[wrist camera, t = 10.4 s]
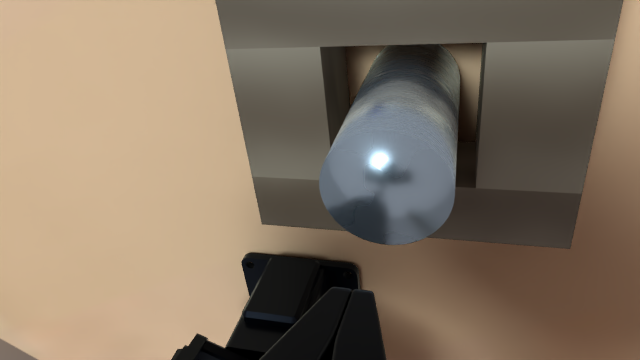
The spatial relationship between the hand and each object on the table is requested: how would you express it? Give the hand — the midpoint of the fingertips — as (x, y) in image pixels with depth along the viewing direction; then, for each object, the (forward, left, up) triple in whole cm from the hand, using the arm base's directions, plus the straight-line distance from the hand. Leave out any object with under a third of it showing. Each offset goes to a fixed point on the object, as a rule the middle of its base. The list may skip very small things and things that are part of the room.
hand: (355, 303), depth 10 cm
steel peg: (0, 0, -12) cm, 12 cm away
